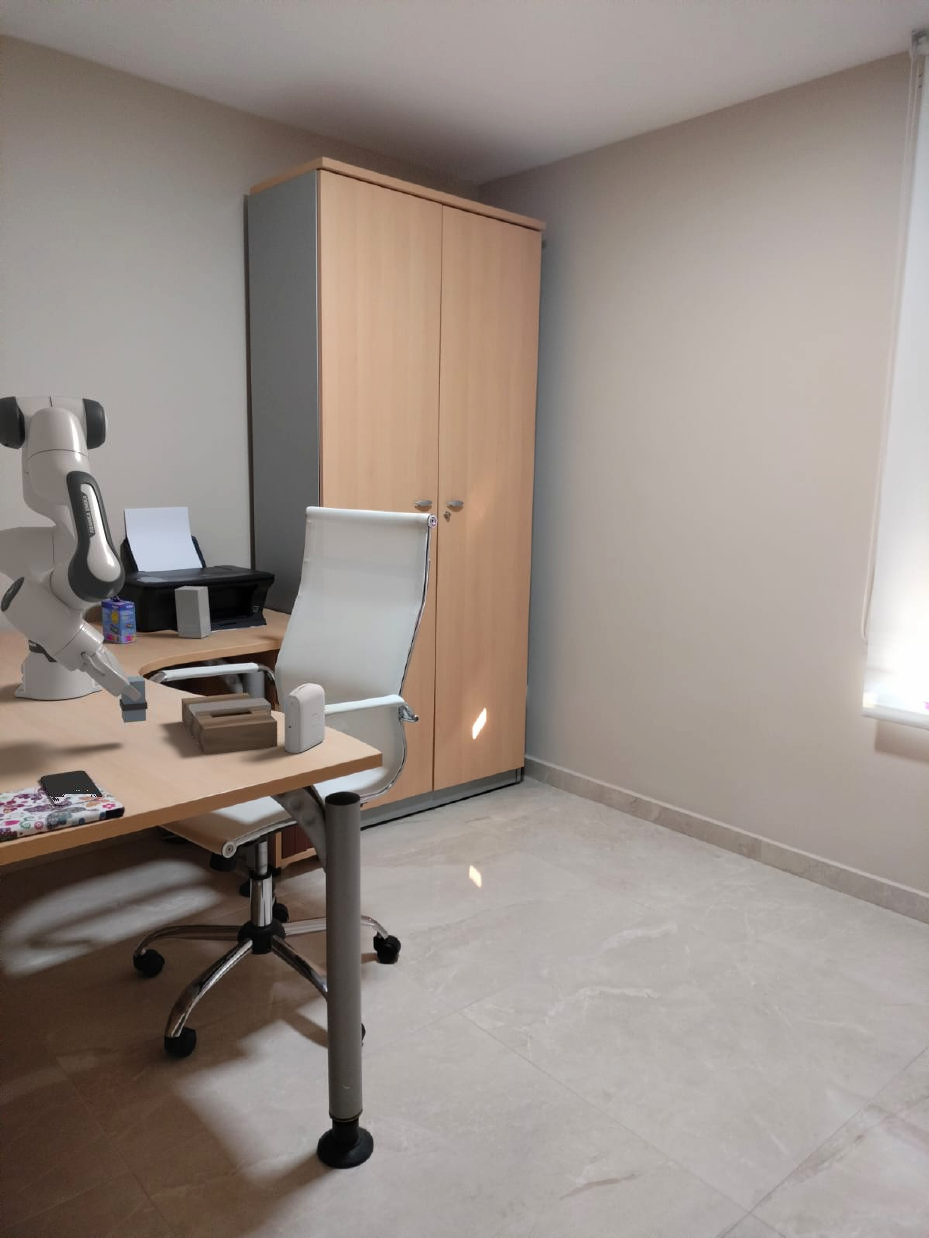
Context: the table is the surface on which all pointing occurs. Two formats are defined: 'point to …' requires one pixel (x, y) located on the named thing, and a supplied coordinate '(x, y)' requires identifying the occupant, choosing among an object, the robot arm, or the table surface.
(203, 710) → the white rectangular bar
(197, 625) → the skincare box
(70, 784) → the phone
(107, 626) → the ink cartridge box
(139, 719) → the blue-gray rectangular block
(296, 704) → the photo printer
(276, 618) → the table surface
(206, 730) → the brown tissue box
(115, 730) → the table surface
